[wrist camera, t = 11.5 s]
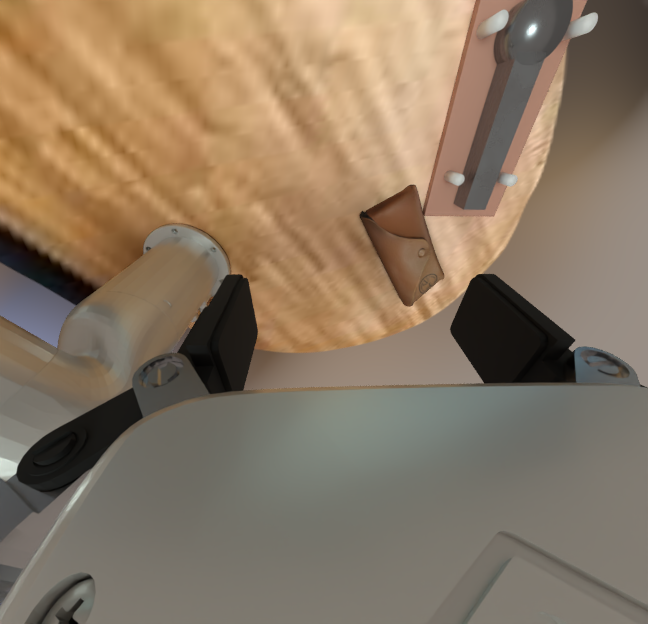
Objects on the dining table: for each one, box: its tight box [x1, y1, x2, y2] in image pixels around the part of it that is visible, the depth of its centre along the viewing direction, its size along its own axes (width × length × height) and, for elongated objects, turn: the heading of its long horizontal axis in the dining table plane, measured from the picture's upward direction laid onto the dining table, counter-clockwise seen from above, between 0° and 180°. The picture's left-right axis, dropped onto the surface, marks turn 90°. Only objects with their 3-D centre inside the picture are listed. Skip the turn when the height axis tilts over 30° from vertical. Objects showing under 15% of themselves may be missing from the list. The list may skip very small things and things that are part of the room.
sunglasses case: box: [360, 185, 444, 306], centre depth 38 cm, size 18×7×7 cm, turn 32°
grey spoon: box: [453, 0, 573, 210], centre depth 27 cm, size 18×5×3 cm, turn 0°
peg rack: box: [423, 0, 598, 216], centre depth 27 cm, size 22×10×4 cm, turn 179°
